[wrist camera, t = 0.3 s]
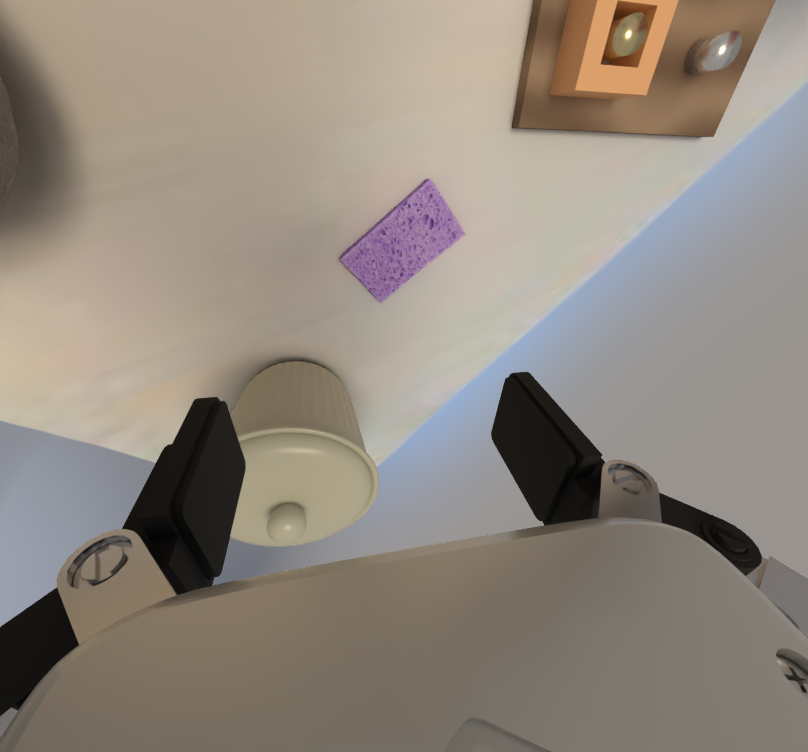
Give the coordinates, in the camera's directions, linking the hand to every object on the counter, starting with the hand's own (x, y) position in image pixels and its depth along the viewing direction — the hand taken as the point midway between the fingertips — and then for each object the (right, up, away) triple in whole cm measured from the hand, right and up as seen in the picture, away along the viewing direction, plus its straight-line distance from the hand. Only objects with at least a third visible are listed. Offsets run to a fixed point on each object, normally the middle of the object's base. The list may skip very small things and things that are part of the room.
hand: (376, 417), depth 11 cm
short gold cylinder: (+18, +31, +19) cm, 40 cm away
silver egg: (+29, +32, +20) cm, 48 cm away
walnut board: (+23, +32, +21) cm, 45 cm away
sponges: (+1, +17, +27) cm, 32 cm away
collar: (+18, +31, +19) cm, 40 cm away
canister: (-14, -1, +36) cm, 38 cm away
